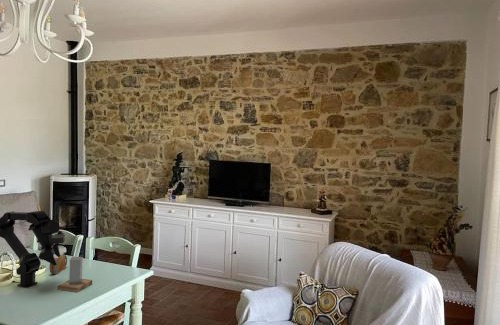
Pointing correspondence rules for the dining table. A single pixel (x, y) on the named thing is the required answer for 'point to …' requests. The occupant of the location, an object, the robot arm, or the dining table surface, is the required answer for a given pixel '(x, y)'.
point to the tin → (58, 264)
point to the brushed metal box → (75, 270)
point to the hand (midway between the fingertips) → (57, 260)
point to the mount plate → (75, 286)
